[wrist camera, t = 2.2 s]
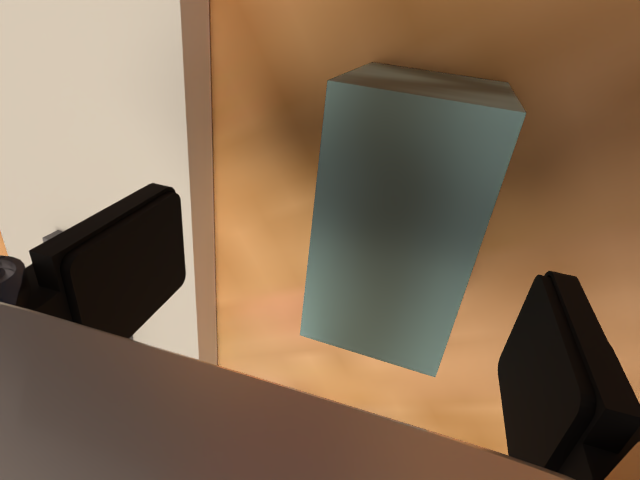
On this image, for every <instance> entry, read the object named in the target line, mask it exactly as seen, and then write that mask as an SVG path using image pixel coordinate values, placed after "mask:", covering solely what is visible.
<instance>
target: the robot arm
mask: <svg viewBox="0 0 640 480" xmlns="http://www.w3.org/2000/svg"><path fill="white" fill-rule="evenodd" d="M29 254H30V257H31V261H32V264H31V265H29V266H27V267H26V268H25V265H24V263H23V262H22V261H21V260H20V259H17V258H15V257H11V256H0V480H640V404H639V402H638V400H637V398H636V395H635V393H634V391H633V389H632V387H631V385H630V383H629V381H628V379H627V377H626V375H625V373H624V371H623V369H622V367H621V364H620V362H619V360H618V358H617V356H616V354H615V352H614V350H613V348H612V346H611V345H610V344H609V342H608V341H607V338H606V336H605V334H604V332H603V330H602V328H601V326H600V324H599V322H598V320H597V318H596V316H595V313H594V311H593V309H592V307H591V305H590V303H589V301H588V299H587V297H586V295H585V293H584V291H583V288H582V286H581V284H580V282H579V280H578V278H577V277H575V276H571V275H566V274H562V273H557V272H553V271H548V272H547V273H546V274H545V275H544V276H543V275H537V276H536V278H535V279H534V281H533V284H532V286H531V288H530V290H529V293H528V295H527V297H526V300H525V302H524V304H523V306H522V309H521V311H520V313H519V315H518V318H517V320H516V322H515V324H514V327H513V329H512V331H511V333H510V336H509V338H508V340H507V343H506V345H505V347H504V349H503V352H502V354H501V356H500V359H499V363H498V377H499V385H500V392H501V400H502V408H503V416H504V423H505V431H506V439H507V447H508V454H509V456H508V455H505V454H502V453H499V452H496V451H493V450H490V449H487V448H484V447H480V446H477V445H474V444H471V443H468V442H464V441H461V440H458V439H455V438H452V437H448V436H445V435H442V434H439V433H436V432H432V431H429V430H426V429H423V428H419V427H416V426H413V425H410V424H407V423H403V422H400V421H397V420H394V419H390V418H387V417H384V416H381V415H378V414H374V413H371V412H368V411H365V410H361V409H358V408H355V407H352V406H348V405H345V404H342V403H339V402H336V401H332V400H329V399H326V398H323V397H319V396H316V395H313V394H310V393H306V392H303V391H300V390H297V389H293V388H290V387H287V386H284V385H280V384H277V383H274V382H270V381H267V380H264V379H261V378H257V377H254V376H251V375H247V374H244V373H241V372H238V371H234V370H231V369H228V368H224V367H221V366H218V365H214V364H211V363H208V362H205V361H201V360H198V359H195V358H191V357H188V356H185V355H181V354H178V353H175V352H171V351H168V350H165V349H161V348H158V347H155V346H151V345H148V344H144V343H141V342H138V341H134V340H131V339H129V338H130V337H131V336H132V335H133V334H134V333H135V332H136V331H137V330H138V329H139V328H140V327H141V326H142V325H143V324H144V323H145V322H146V321H147V320H148V319H149V318H150V317H151V316H152V315H153V314H154V313H155V312H156V311H157V310H158V309H159V308H160V307H161V306H162V305H163V304H164V303H165V302H166V301H167V300H168V299H169V298H170V297H171V296H172V295H173V294H174V293H175V292H176V291H177V290H178V289H179V288H180V287H181V286H182V285H183V283H184V281H185V277H186V268H185V254H184V240H183V225H182V211H181V199H180V196H179V195H178V194H177V193H176V192H175V189H174V188H173V187H169V186H164V185H160V184H155V183H150V184H148V185H146V186H145V187H143V188H141V189H139V190H137V191H136V192H134V193H132V194H130V195H128V196H127V197H125V198H123V199H121V200H119V201H118V202H116V203H114V204H112V205H110V206H108V207H107V208H105V209H103V210H101V211H99V212H98V213H96V214H94V215H92V216H90V217H89V218H87V219H85V220H83V221H81V222H80V223H78V224H76V225H74V226H72V227H71V228H69V229H67V230H65V231H63V232H62V233H60V234H58V235H56V236H54V237H53V238H51V239H49V240H47V241H45V242H43V243H42V244H40V245H38V246H36V247H34V248H33V249H31V250H29Z"/></svg>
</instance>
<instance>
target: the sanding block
mask: <svg viewBox="0 0 640 480" xmlns="http://www.w3.org/2000/svg"><path fill="white" fill-rule="evenodd" d="M525 116H526V111H525V110H524V108H523V106H522V105H521V103H520V101H519V100H518V98H517V96H516V95H515V93H514V91H513V90H512V88H511V86H510V85H509V83H508V82H501V81H494V80H488V79H481V78H474V77H468V76H461V75H454V74H448V73H441V72H434V71H428V70H421V69H414V68H408V67H401V66H394V65H388V64H381V63H374V62H372V63H369V64H367V65H364V66H362V67H359V68H357V69H354V70H352V71H349V72H347V73H344V74H342V75H339V76H337V77H335V78H332V79H330V80H328V81H327V90H326V99H325V109H324V118H323V127H322V136H321V145H320V155H319V164H318V173H317V182H316V192H315V201H314V210H313V219H312V229H311V238H310V247H309V256H308V266H307V275H306V284H305V293H304V303H303V312H302V321H301V330H300V335H301V336H304V337H307V338H310V339H314V340H317V341H320V342H323V343H326V344H330V345H333V346H336V347H339V348H343V349H346V350H349V351H352V352H355V353H359V354H362V355H365V356H368V357H372V358H375V359H378V360H381V361H384V362H388V363H391V364H394V365H397V366H401V367H404V368H407V369H410V370H413V371H417V372H420V373H423V374H426V375H430V376H433V377H436V374H437V371H438V368H439V365H440V362H441V359H442V356H443V354H444V351H445V348H446V345H447V342H448V339H449V336H450V333H451V330H452V327H453V325H454V322H455V319H456V316H457V313H458V310H459V307H460V304H461V301H462V298H463V296H464V293H465V290H466V287H467V284H468V281H469V278H470V275H471V272H472V269H473V266H474V264H475V261H476V258H477V255H478V252H479V249H480V246H481V243H482V240H483V237H484V235H485V232H486V229H487V226H488V223H489V220H490V217H491V214H492V211H493V208H494V206H495V203H496V200H497V197H498V194H499V191H500V188H501V185H502V182H503V179H504V177H505V174H506V171H507V168H508V165H509V162H510V159H511V156H512V153H513V150H514V148H515V145H516V142H517V139H518V136H519V133H520V130H521V127H522V124H523V121H524V118H525Z"/></svg>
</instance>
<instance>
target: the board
mask: <svg viewBox="0 0 640 480" xmlns="http://www.w3.org/2000/svg"><path fill="white" fill-rule="evenodd" d="M150 183H155V184H160V185H164V186H169V187H173V188H174V189H175V192H176V193H177V194H178V195H179V196H180V199H181V211H182V225H183V240H184V254H185V268H186V277H185V281H184V283H183V285H182V286H181V287H180V288H179V289H178V290H177V291H176V292H175V293H174V294H173V295H172V296H171V297H170V298H169V299H168V300H167V301H166V302H165V303H164V304H163V305H162V306H161V307H160V308H159V309H158V310H157V311H156V312H155V313H154V314H153V315H152V316H151V317H150V318H149V319H148V320H147V321H146V322H145V323H144V324H143V325H142V326H141V327H140V328H139V329H138V330H137V331H136V332H135V333H134V334H133V340H134V341H138V342H141V343H144V344H148V345H151V346H155V347H158V348H161V349H165V350H168V351H171V352H175V353H178V354H181V355H185V356H188V357H191V358H195V359H198V360H201V361H205V362H208V363H211V364H214V365H217V323H216V280H215V236H214V193H213V150H212V106H211V63H210V19H209V0H0V231H1V234H2V237H3V240H4V243H5V247H6V250H7V253H8V256H11V257H15V258H17V259H20V260H21V261H22V262H23V263H24V265H25V268H26V267H27V266H29V265H31V264H32V261H31V257H30V254H29V250H31V249H33V248H34V247H36V246H38V245H40V244H42V243H43V239H42V238H43V237H45V236H47V235H49V234H51V233H53V232H55V231H57V230H60V231H65V230H67V229H69V228H71V227H72V226H74V225H76V224H78V223H80V222H81V221H83V220H85V219H87V218H89V217H90V216H92V215H94V214H96V213H98V212H99V211H101V210H103V209H105V208H107V207H108V206H110V205H112V204H114V203H116V202H118V201H119V200H121V199H123V198H125V197H127V196H128V195H130V194H132V193H134V192H136V191H137V190H139V189H141V188H143V187H145V186H146V185H148V184H150Z"/></svg>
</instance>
